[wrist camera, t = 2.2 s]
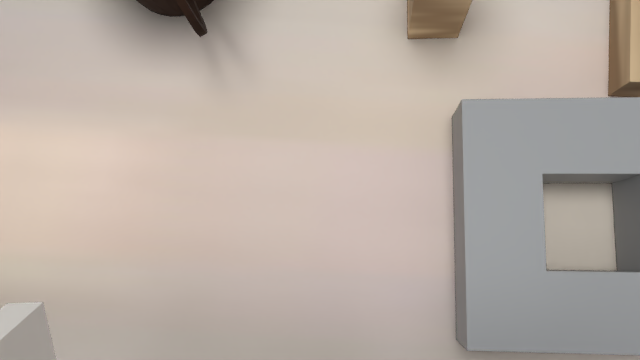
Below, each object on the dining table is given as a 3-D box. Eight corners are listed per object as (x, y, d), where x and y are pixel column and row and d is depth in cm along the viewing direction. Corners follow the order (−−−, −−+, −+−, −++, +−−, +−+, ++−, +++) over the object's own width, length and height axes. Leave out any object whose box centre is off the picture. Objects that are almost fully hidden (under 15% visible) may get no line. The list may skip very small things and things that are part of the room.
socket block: (456, 339, 30) (467, 350, 26) (451, 117, 31) (461, 99, 28) (697, 346, 28) (742, 358, 25) (680, 114, 30) (719, 96, 27)
